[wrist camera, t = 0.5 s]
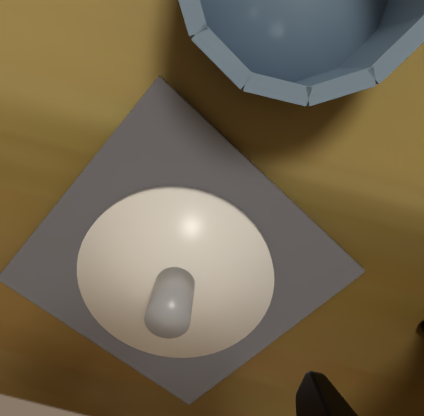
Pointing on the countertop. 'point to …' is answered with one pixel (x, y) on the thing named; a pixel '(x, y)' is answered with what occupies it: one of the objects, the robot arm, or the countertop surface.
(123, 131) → the mat
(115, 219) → the lid
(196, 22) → the bowl
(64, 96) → the countertop surface
